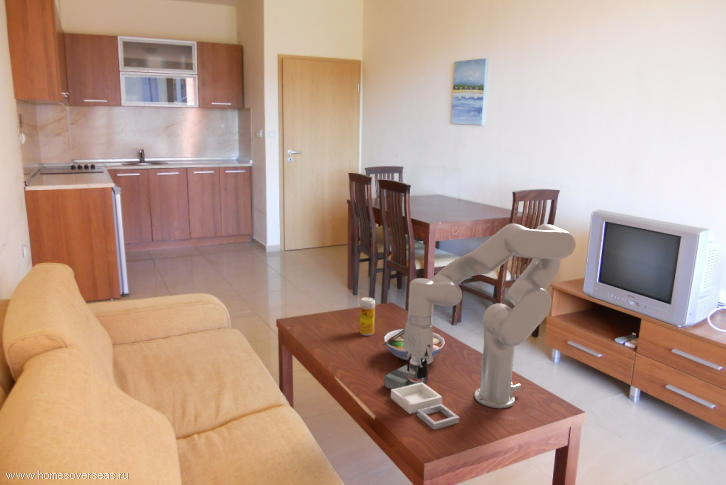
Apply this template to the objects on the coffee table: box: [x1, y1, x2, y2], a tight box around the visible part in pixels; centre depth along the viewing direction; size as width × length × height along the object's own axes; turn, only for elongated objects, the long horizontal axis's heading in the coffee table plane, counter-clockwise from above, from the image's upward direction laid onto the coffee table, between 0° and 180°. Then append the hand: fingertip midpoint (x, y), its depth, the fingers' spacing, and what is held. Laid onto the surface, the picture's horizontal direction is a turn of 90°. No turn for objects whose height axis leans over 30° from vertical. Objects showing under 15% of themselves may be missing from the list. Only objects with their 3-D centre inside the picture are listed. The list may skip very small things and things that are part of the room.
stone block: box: [383, 363, 430, 391], centre depth 186 cm, size 9×14×5 cm, turn 137°
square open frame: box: [416, 403, 460, 431], centre depth 165 cm, size 9×9×2 cm
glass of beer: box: [359, 296, 376, 337], centre depth 229 cm, size 6×6×15 cm
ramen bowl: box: [382, 328, 446, 362], centre depth 207 cm, size 25×23×8 cm
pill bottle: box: [409, 355, 425, 382], centre depth 172 cm, size 5×5×8 cm
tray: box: [390, 382, 443, 415], centre depth 174 cm, size 12×11×3 cm
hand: (416, 373), depth 173 cm, fingers closed on pill bottle, 4 cm apart
